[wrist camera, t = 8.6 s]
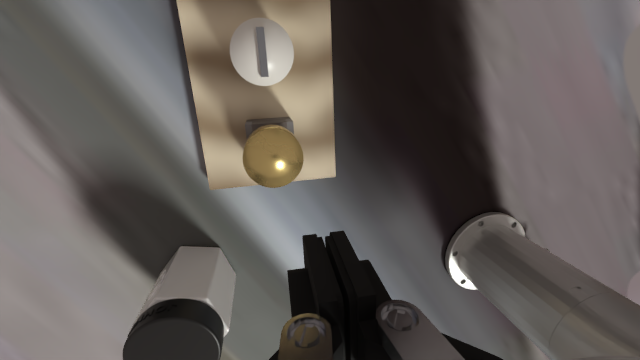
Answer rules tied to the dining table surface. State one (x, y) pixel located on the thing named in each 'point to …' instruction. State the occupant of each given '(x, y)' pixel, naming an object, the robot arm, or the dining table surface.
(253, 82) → the dial
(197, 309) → the jar
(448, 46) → the dining table surface
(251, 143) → the knob
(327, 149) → the mount board
